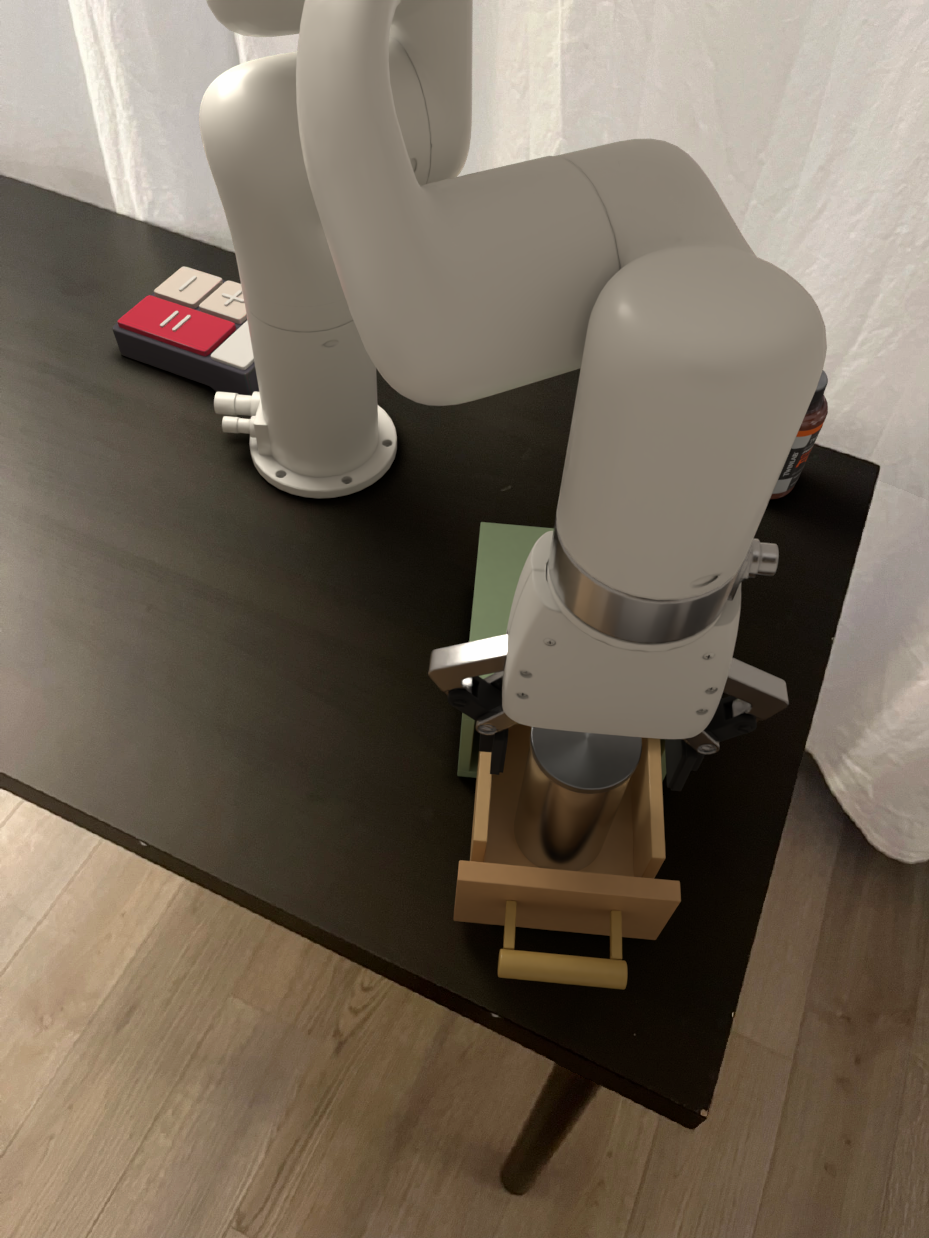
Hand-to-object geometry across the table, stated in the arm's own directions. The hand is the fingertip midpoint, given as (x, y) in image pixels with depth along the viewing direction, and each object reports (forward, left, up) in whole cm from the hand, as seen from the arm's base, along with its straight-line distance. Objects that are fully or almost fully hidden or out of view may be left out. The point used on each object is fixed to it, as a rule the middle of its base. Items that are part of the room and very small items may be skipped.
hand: (584, 758), depth 53 cm
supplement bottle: (+17, +36, -12) cm, 41 cm away
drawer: (0, -1, -11) cm, 11 cm away
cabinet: (0, +12, -12) cm, 17 cm away
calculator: (-33, +47, -12) cm, 59 cm away
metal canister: (0, 0, -10) cm, 10 cm away
